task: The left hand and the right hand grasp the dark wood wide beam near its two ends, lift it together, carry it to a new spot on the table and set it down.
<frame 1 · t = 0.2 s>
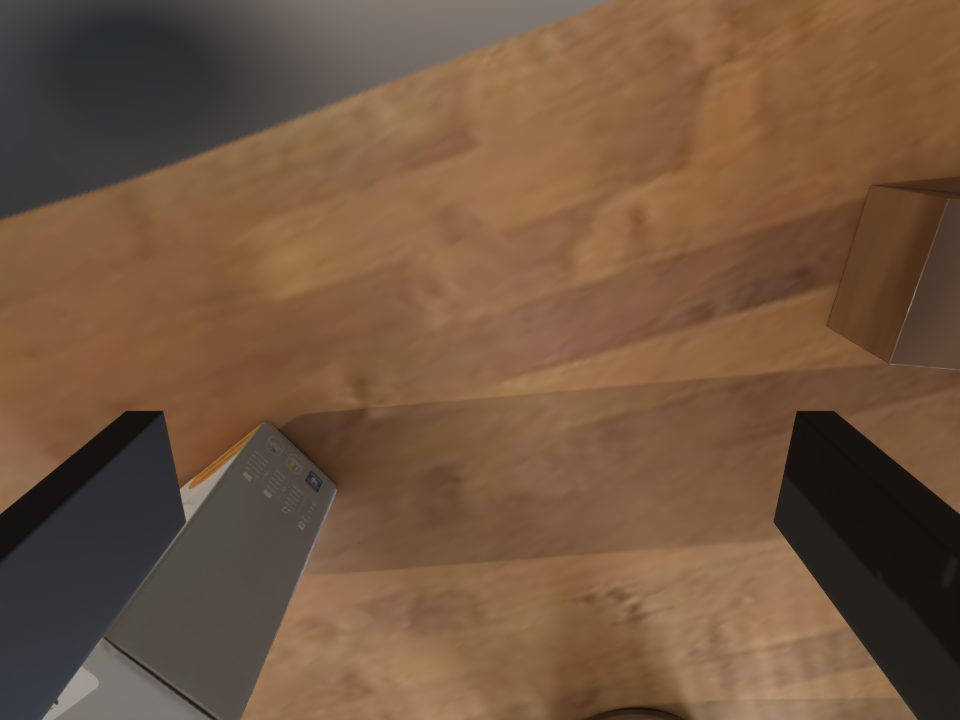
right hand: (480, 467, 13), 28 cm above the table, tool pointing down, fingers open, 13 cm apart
hard drive box: (232, 506, 46), on the table
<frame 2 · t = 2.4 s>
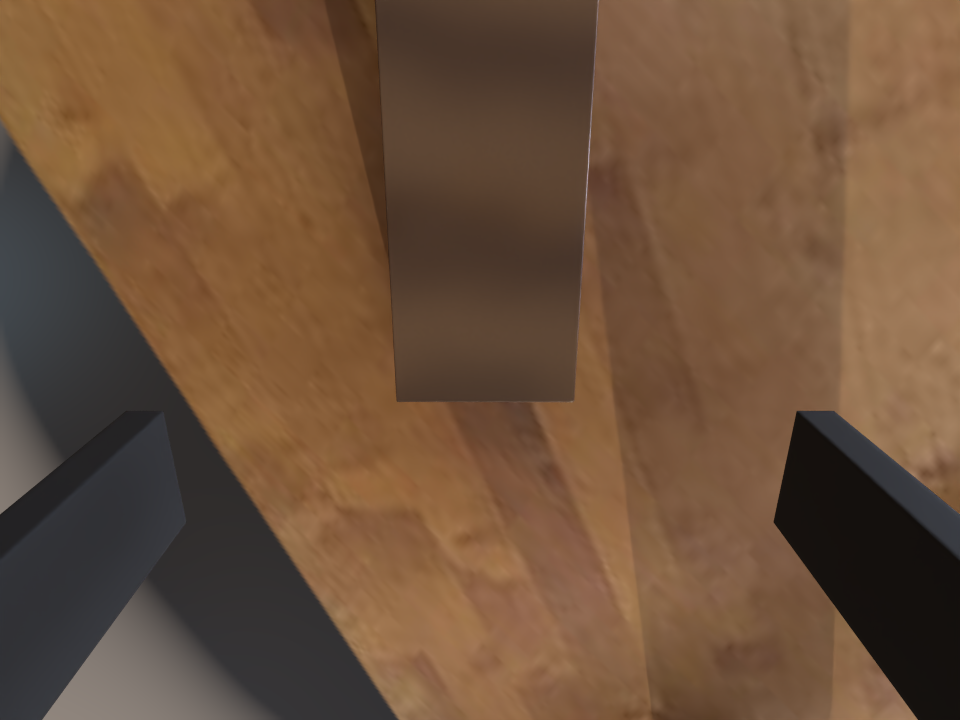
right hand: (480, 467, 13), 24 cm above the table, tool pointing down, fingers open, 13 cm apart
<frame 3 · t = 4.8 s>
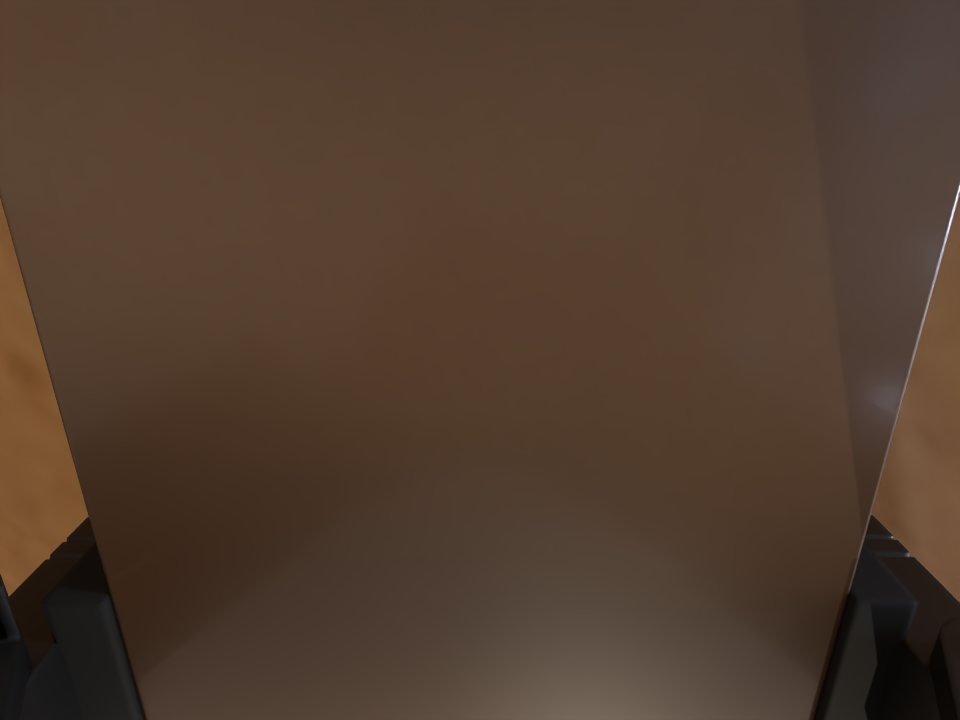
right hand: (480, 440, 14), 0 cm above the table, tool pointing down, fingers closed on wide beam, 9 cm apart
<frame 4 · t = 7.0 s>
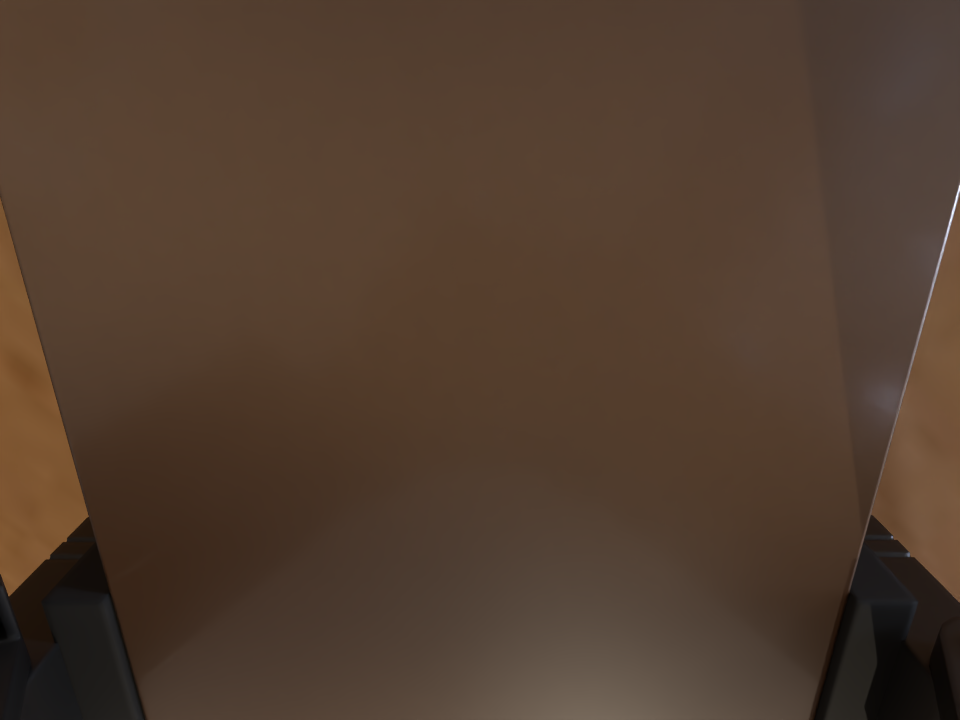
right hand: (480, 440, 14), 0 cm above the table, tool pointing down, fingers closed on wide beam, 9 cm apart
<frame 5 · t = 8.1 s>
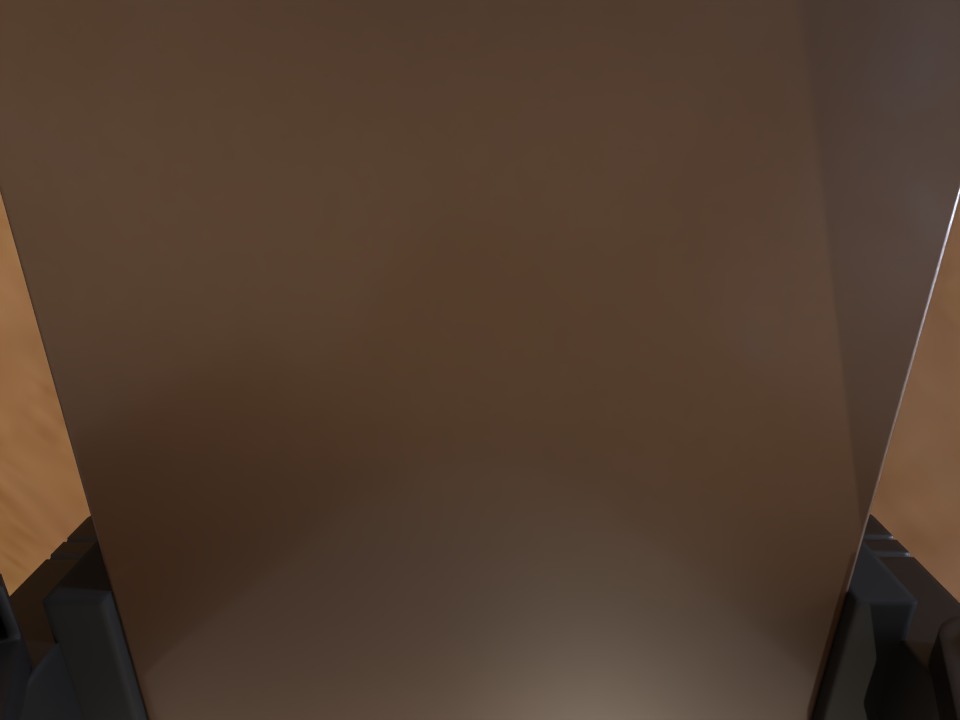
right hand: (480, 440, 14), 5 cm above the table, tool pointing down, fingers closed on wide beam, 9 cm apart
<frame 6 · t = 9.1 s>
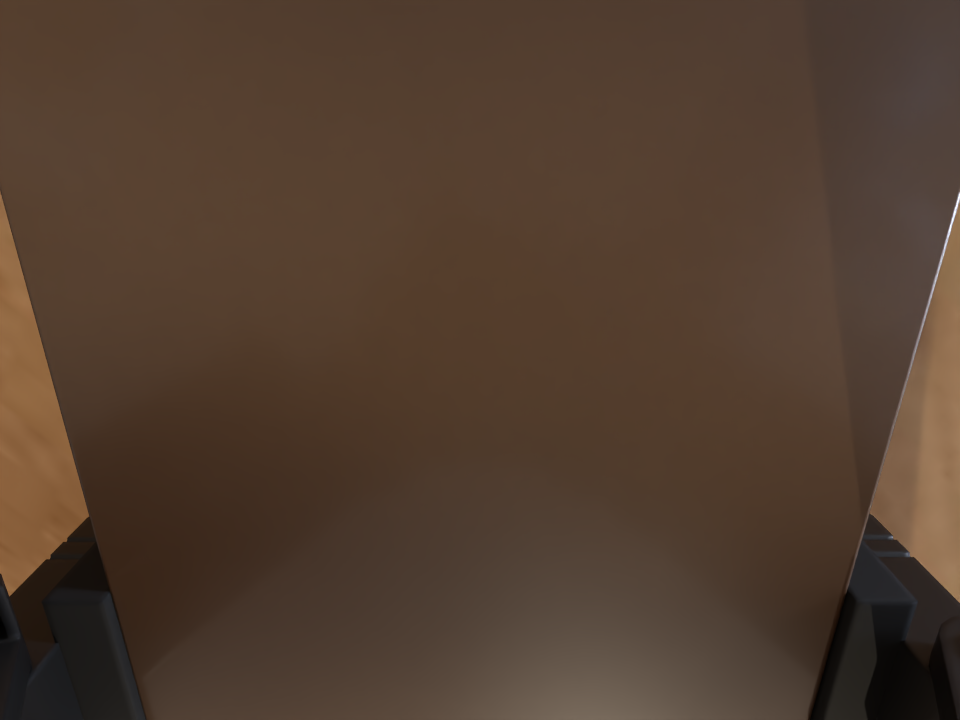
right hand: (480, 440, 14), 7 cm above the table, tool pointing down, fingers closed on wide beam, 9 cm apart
when the left hand's fingers open (2 cm above the table, at t = 11.6 s): wide beam drops 2 cm, on the table.
when the right hand's fingers open (2 cm above the table, at t = 11.6 s): wide beam drops 2 cm, on the table.
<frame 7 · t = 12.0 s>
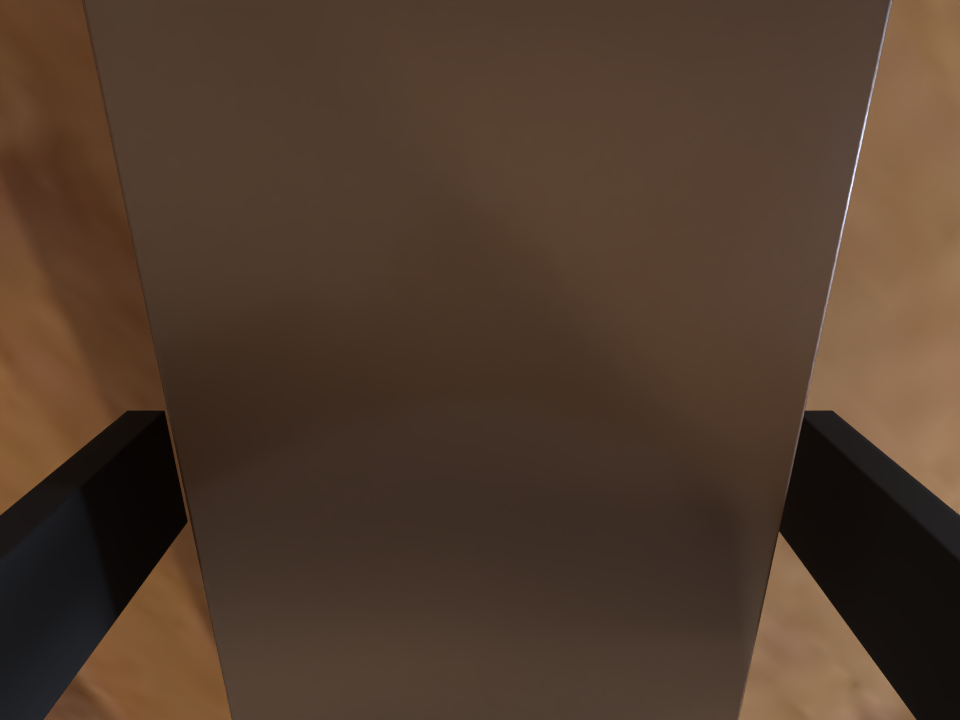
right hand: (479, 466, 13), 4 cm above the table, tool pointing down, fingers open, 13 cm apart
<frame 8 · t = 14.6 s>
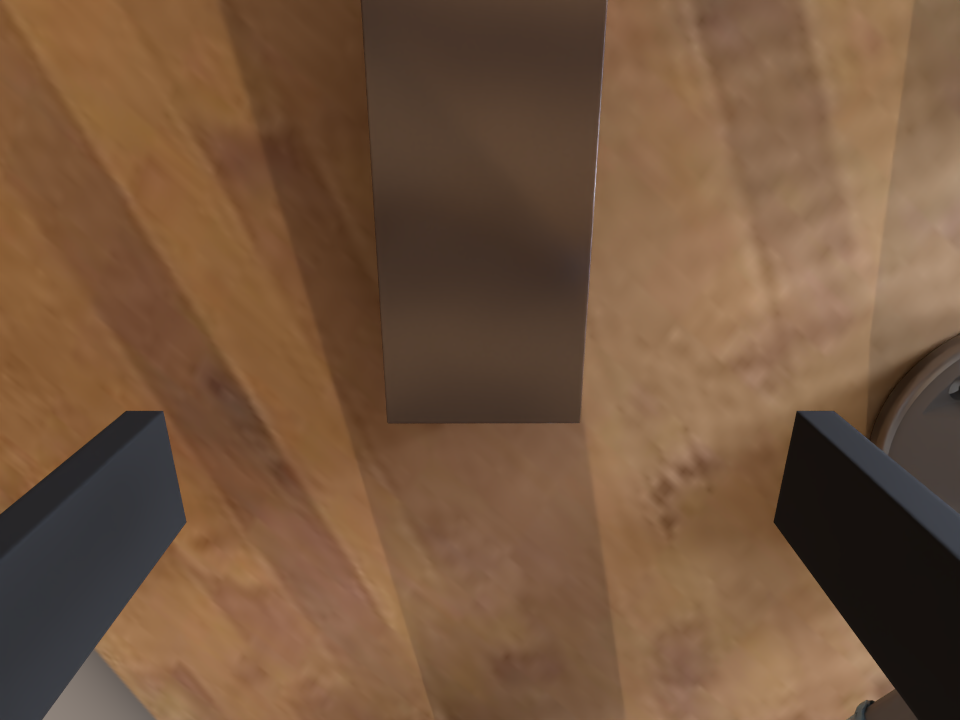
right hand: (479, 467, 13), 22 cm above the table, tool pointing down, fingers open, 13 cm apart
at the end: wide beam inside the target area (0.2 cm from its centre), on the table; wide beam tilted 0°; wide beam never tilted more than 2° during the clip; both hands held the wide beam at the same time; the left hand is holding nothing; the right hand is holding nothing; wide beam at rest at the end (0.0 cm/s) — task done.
